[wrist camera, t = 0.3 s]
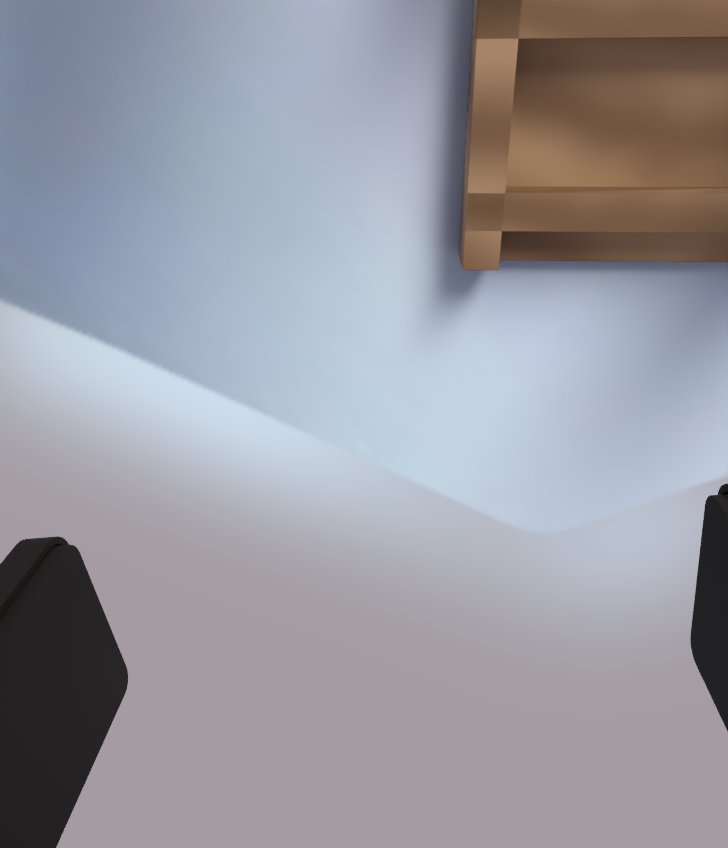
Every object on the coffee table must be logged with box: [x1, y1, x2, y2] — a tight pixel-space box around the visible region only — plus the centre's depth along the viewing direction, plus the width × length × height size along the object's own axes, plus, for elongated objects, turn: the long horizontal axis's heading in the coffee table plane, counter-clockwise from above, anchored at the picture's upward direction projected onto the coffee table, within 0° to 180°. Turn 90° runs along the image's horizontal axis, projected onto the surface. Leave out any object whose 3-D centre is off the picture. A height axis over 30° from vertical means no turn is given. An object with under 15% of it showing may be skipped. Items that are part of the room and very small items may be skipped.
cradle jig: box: [459, 0, 728, 270], centre depth 33 cm, size 14×16×3 cm
